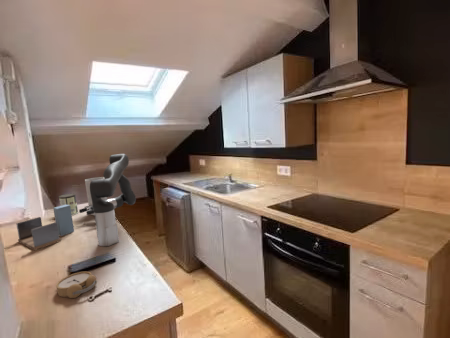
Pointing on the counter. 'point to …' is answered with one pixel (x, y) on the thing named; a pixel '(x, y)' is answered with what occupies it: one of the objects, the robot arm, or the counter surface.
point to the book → (63, 219)
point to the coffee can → (69, 202)
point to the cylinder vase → (89, 190)
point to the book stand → (30, 243)
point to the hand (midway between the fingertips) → (83, 212)
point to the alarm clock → (76, 284)
